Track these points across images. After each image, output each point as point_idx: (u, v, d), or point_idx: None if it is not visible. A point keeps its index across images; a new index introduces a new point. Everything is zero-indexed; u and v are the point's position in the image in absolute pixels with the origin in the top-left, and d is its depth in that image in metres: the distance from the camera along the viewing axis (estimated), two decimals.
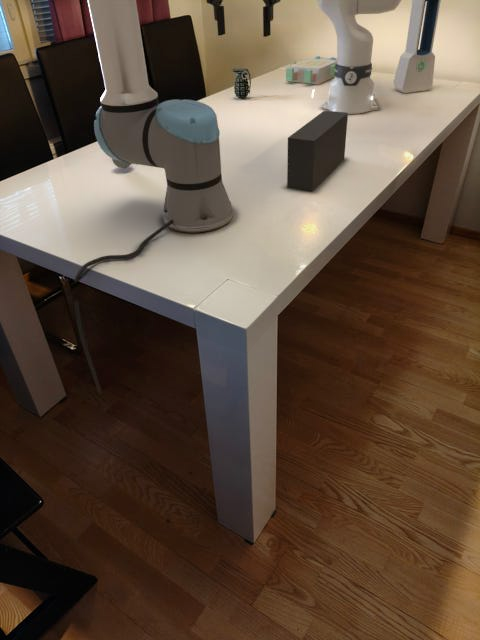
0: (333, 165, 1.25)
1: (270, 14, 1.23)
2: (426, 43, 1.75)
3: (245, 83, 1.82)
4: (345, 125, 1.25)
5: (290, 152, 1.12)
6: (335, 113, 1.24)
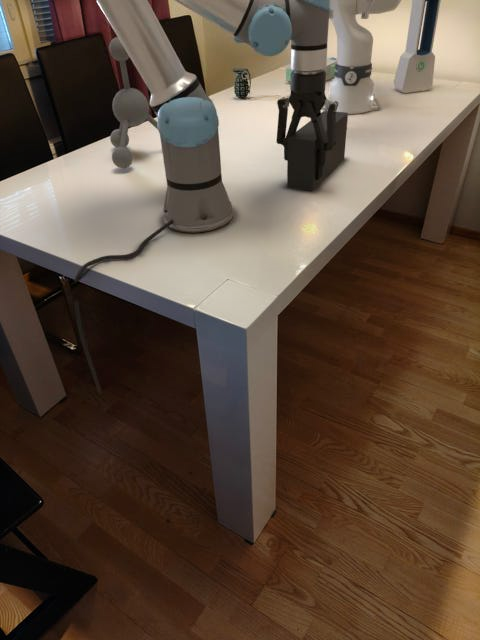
0: (333, 165, 1.25)
1: (324, 159, 1.12)
2: (426, 43, 1.75)
3: (245, 83, 1.82)
4: (345, 125, 1.25)
5: (290, 152, 1.12)
6: None
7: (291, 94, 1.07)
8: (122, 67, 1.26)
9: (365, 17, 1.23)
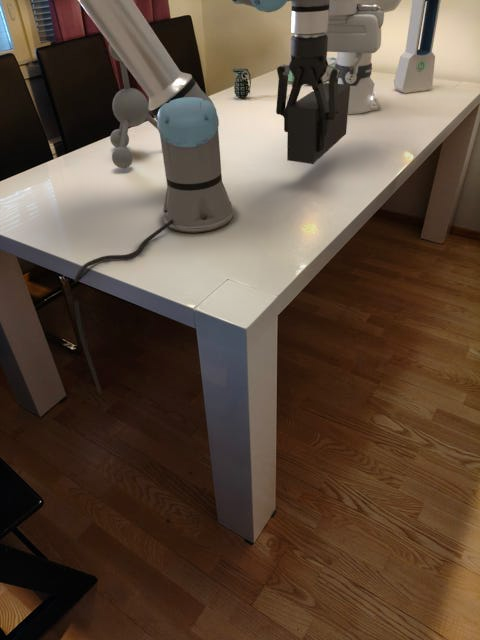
0: (335, 139, 1.21)
1: (325, 129, 1.08)
2: (426, 43, 1.75)
3: (245, 83, 1.82)
4: (347, 97, 1.21)
5: (290, 122, 1.08)
6: None
7: (291, 60, 1.03)
8: (122, 67, 1.26)
9: (354, 72, 1.14)
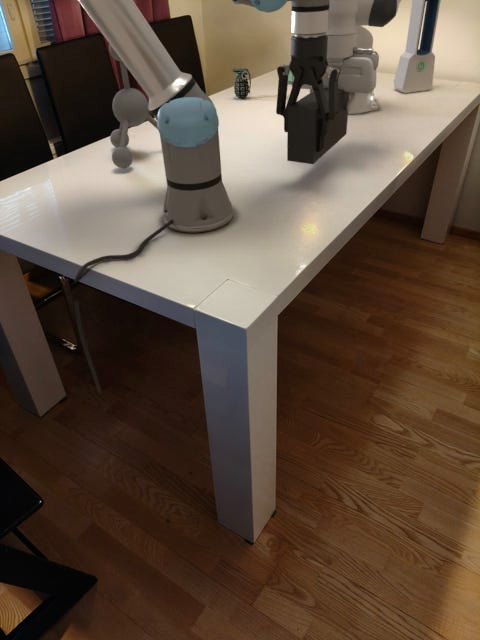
0: (335, 139, 1.21)
1: (325, 129, 1.08)
2: (426, 43, 1.75)
3: (245, 83, 1.82)
4: (347, 98, 1.21)
5: (290, 122, 1.08)
6: None
7: (291, 60, 1.03)
8: (122, 67, 1.26)
9: (347, 110, 1.20)
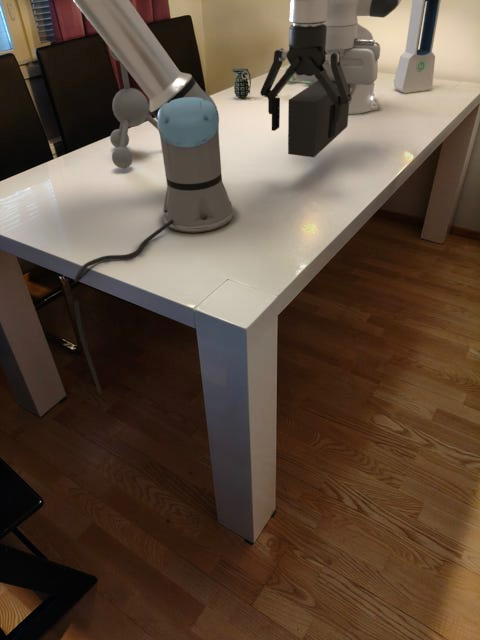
0: (336, 132, 1.20)
1: (338, 114, 1.04)
2: (426, 43, 1.75)
3: (245, 83, 1.82)
4: None
5: (291, 115, 1.08)
6: None
7: (289, 50, 1.01)
8: (122, 67, 1.26)
9: (348, 102, 1.19)
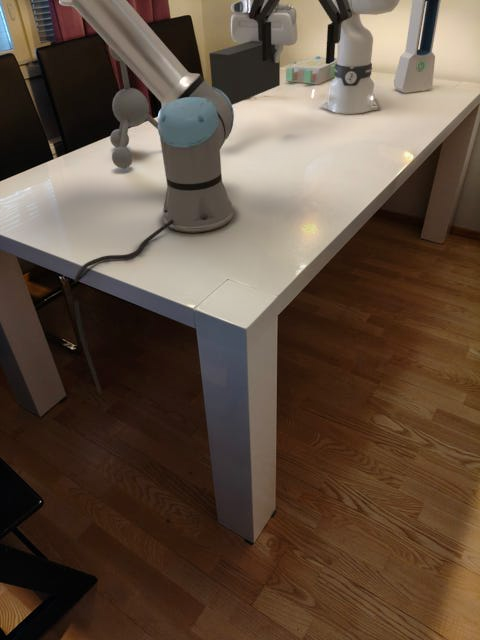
0: (263, 87, 1.38)
1: (337, 34, 0.91)
2: (426, 43, 1.75)
3: None
4: None
5: (212, 67, 1.27)
6: None
7: None
8: (122, 67, 1.26)
9: (275, 61, 1.36)
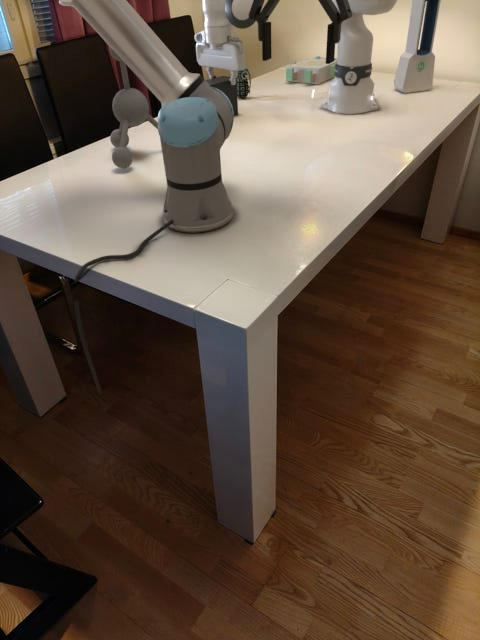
0: None
1: (337, 34, 0.91)
2: (426, 43, 1.75)
3: (245, 83, 1.82)
4: (234, 87, 1.63)
5: None
6: (227, 77, 1.63)
7: None
8: (122, 67, 1.26)
9: (231, 84, 1.59)
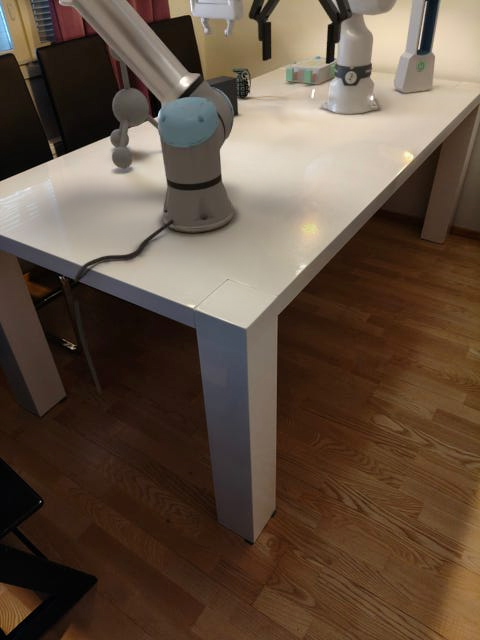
0: None
1: (337, 34, 0.91)
2: (426, 43, 1.75)
3: (245, 83, 1.82)
4: (234, 87, 1.63)
5: None
6: (227, 77, 1.63)
7: None
8: (122, 67, 1.26)
9: (227, 35, 1.50)
